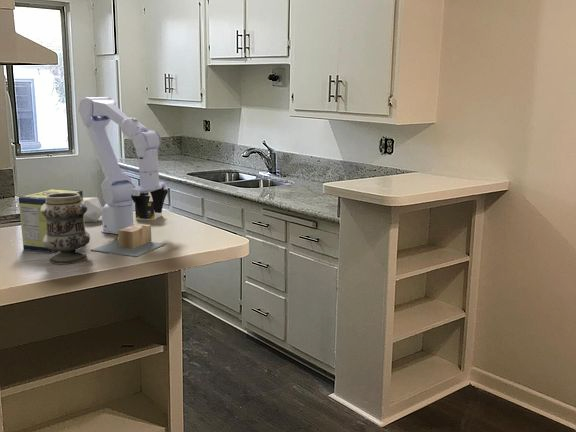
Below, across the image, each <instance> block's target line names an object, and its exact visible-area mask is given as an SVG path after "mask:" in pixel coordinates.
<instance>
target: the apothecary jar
mask: <svg viewBox="0 0 576 432" xmlns="http://www.w3.org/2000/svg"><path fill="white" fill-rule="evenodd" d="M86 211H87V205H86V204H85V203H84V202H83V201H81V198H80V195H79V194H78V193H70V192H69V193H54V194H49V195H47V196H46V203H45V204H43V205H42V207H41V214H42V215H43V216H45V217H46V222H47V234H46V235H45V236H44V237H43V244H44V245H45V246H46V247H47V248H48V249H51V250H54V251H55V252H58V253H56V254H54V255H52V256H51V257H50V258H49V261H48V262H49V263H51V264H55V265H70V264H75V263H79V262H83V261H85V260H87V259H88V254H86V253H84V252H80V251H77V250H79V249H81V248H83V247H86V245H88V244H89V243H90V241H91V235H90V233H89V232H88V231H87V230H86V227H85V228H84V220H83V214H84V213H86Z"/></svg>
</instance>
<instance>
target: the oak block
mask: <svg viewBox="0 0 576 432" xmlns="http://www.w3.org/2000/svg"><path fill="white" fill-rule="evenodd" d="M133 224H134V225H132V226H129V227H126V228H123V229H120V230H118V234H117V235H118V239H119V247H124V248H132V249H133V248H136V247H138V246H141V245H143V244H146V243H148V242H152V227H151V226H152V225H150V224H143V223H133ZM118 239H117V240H118Z"/></svg>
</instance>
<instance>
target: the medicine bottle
mask: <svg viewBox="0 0 576 432" xmlns="http://www.w3.org/2000/svg"><path fill="white" fill-rule="evenodd" d="M144 195H146V196H150V199H149V202H148V214H147V218H140V215H139V212H138V209H137V206H136V204H135V203H134V208H135V209H134V212H135V213H134V214H135V220H139V221H140V220H141V221H142V220H143V221H155V220H157V219H159V218H160V217H162V216H163V213H162V212H163V211H162V212H161V213H155V211H154V204H153V199H152V196H151V193H150V192H148V193H144Z"/></svg>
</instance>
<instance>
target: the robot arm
mask: <svg viewBox="0 0 576 432" xmlns="http://www.w3.org/2000/svg"><path fill="white" fill-rule="evenodd" d="M78 105H79V106H78V113H79V115H80V118H81V120H82V123H83V125H84V126H85V129H86V131H87V132H86V133H87V134H88V136H89V139H90V142H91V145H92V147H93V150H94V152H95V154H96V157H97V159H98V162H99V165H100V169H101V170H102V172H103V174H104V178H105V179H103V181H102V182H101V184H100V188H101V192H102V199H103V200H104V203H105V204H104V206H102V208H103V209H102V214H101V223H102V230H101V231H100V232H101V233H107V234H115V235H118V230H120V229H123V228H126V227H129V226H132V225H134V224H135V223H134V209H133V206H134V205H135V204H136V206H137V209H138V212H139V215H140V218H147V214H148V202H149V199H150V196H146V195H144V193H148V192H150V193H151V196H152V199H153V204H154V211H155V213H161V212H163V207H164V203H165V200H166V197H167V195H168V194H169V189H167V183H166V182H165V181H160V177H159V175H160V174H159V157H158V156H159V154H158V153H159V152H158V150H159V149H160V148H161V145H162V137H161V134H159V133H160V132H158V131H157V130H155V129H154V130H153V129H152V130H151V129H148V127H147V126H145V125H144V124H142V123H141V122H139V119H138V118H137V117H131V116H130V117H128V116H127V114H125V113H124V111H122V110H121V109H120V107H118V106H117V102H116V100H114V99H113V98H112V97H110V96H97V97H95V96H93V97H92V96H91V97H89V96H83V97H82V98H81V99H80V100H79V104H78ZM111 121H113V122H114V123H116V124H117V125H118V126H119V127H120V131H121V133H122V134H124V136H125V137H127V138H128V139H129V140H131V141H132V144H133V147H134V148H135V151H136V152H135V153H136V156H137V157H138V174H139V185H138V186H136V185H135V184H134V182H133V180H132V178H131V177H130V176H129V175H127V174H125V173H123V172H122V168H120V167H121V166H120V165H119V162H118V159H117V157H116V153H115V152H114V149H113V147H112V145H111V142H110V139H109V137H108V134H107V131H106V126H108V125H109V124H110V122H111Z"/></svg>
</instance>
